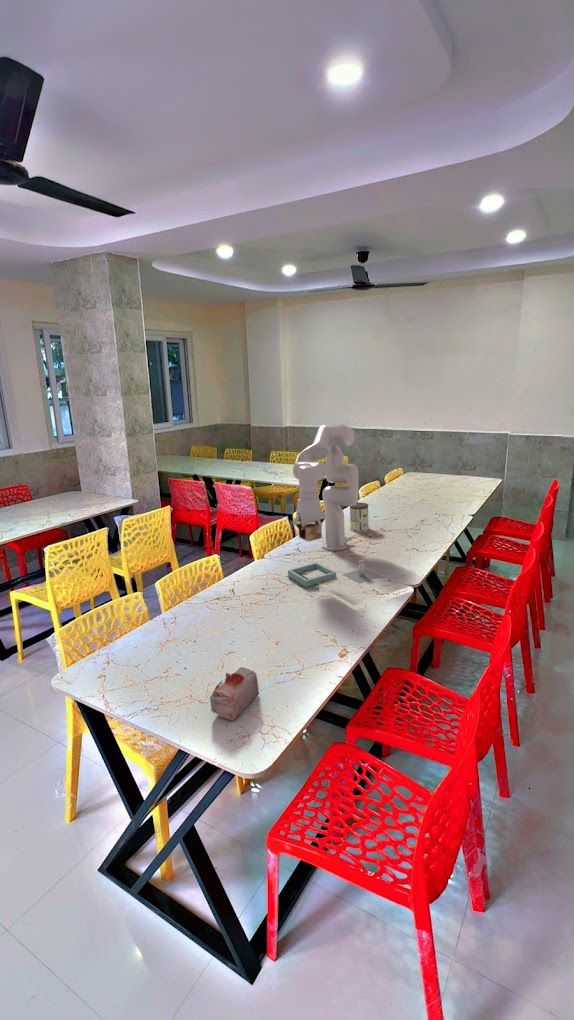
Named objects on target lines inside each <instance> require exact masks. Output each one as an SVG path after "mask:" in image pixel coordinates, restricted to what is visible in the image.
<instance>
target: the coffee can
mask: <svg viewBox="0 0 574 1020" xmlns="http://www.w3.org/2000/svg"><path fill="white" fill-rule="evenodd" d="M349 519H350V520H349V521H350V523H349V525H350V528H349V529H350V531H351V532H357V533H362V532H366V531H368V530H369V504H368V503H366V502H357V504H356V505H354V506H349Z"/></svg>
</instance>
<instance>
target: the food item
mask: <svg viewBox="0 0 574 1020" xmlns="http://www.w3.org/2000/svg"><path fill="white" fill-rule="evenodd" d="M258 682H259V681H258V678H257V672H255V671H254V670H251V669H249V668H246V667H243V666H241V667H239V668H238V669H237V670H236V671H234V672H233V673H228V672H226V673H225V678H224V682H223V680H221V681H220V682H219V683H218V684H217V685H216V686H215V687H214V690H213V691H212V693H211V695H210V696H209V700H210V706H211V708H210V711H211V713H212V712H213V714H216V715H218V716H219V717H221V718H224V719H226V720H229V721H231V722H235V720H237V718H239V716H241V714H242V713H243V712H244V711H245V710H246V709H247V708H248V706H249V705H251V703H252V702H253V701H254V700H255V699H256V698H257V697H258V696H259V694H260V691H259V690H260V689H259V683H258Z"/></svg>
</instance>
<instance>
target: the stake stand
mask: <svg viewBox="0 0 574 1020" xmlns="http://www.w3.org/2000/svg"><path fill="white" fill-rule="evenodd" d="M365 562H366V559H362V560H361V559H360V560H358V561H357V563H358V569H357V570H353V571H350V572H347V573H342V576H344V577H346V578H348V579H350V580H352V581H354V582H356V583H358V584H359V585H360V584H362V583H365V582H369V581H372V580H375V579H379V578H382V577H383V576H382V575H380V574H378V573H375V572H373V571H370V570H369V569H367V568H365V566H366V565H365Z"/></svg>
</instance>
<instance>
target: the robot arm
mask: <svg viewBox="0 0 574 1020" xmlns="http://www.w3.org/2000/svg"><path fill="white" fill-rule="evenodd" d="M355 438H356V437H355V432H354V430H353V428H351V426H348V425H345V424H323V425H321V426H319V427H318V429H317V431H316V433H315V436H314V439H313V441H312V445H309V446H308V447H306V448H305V449H304V450H302V451H301V452H299V453H298V455H297V456H296V459H295V462H294V464H293V466H292V467H293V468H292V474H293V477H294V478H295V479H297V480H298V486H299V487H298V489H299V490H298V491H299V498H298V499H297V503H296V512H295V513H296V517H295V518H294V519H293V520H292V523H293V525H295V526H296V528H298V536H299V535H300V537H301V538H303V539H302V540H304V539H305V530H304V527H305V524H306V523H310V522H314V523H316V524H319V525H321V526H322V524H323V523H325V526H324V527H325V529H324V531H325V542H324V543H323V544H322V548H323V549H324V550H326V551H330V552H335V551H336V552H338V551H343V550H346V549H347V548H348V547H349V544H348V542H351V541H353V537H352V536H349V537H347V536H346V535H345V512H344V509H342V507H341V506H344V507H345V506H346V507H347V506H348V507H350V506H354V505H356V504H357V503H359V502H358V501H359V469H358V466H357V465H356V464H353V463H344V453H343V450H342V449H341V447H349V446H353V444H354V442H355ZM324 458H325V463H324V462H321V461H320V462H319V460H321V459H324ZM323 479H326V481H327V482H328V483H330V484H347V486H345V485H329V486H326V487H324V488H323V490H322V495H321V496H322V500H323V507H324V512H322V505H321V502H320V497H319V494H320V490H319V489H318V481H321V480H323ZM301 538H300V539H301Z"/></svg>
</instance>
